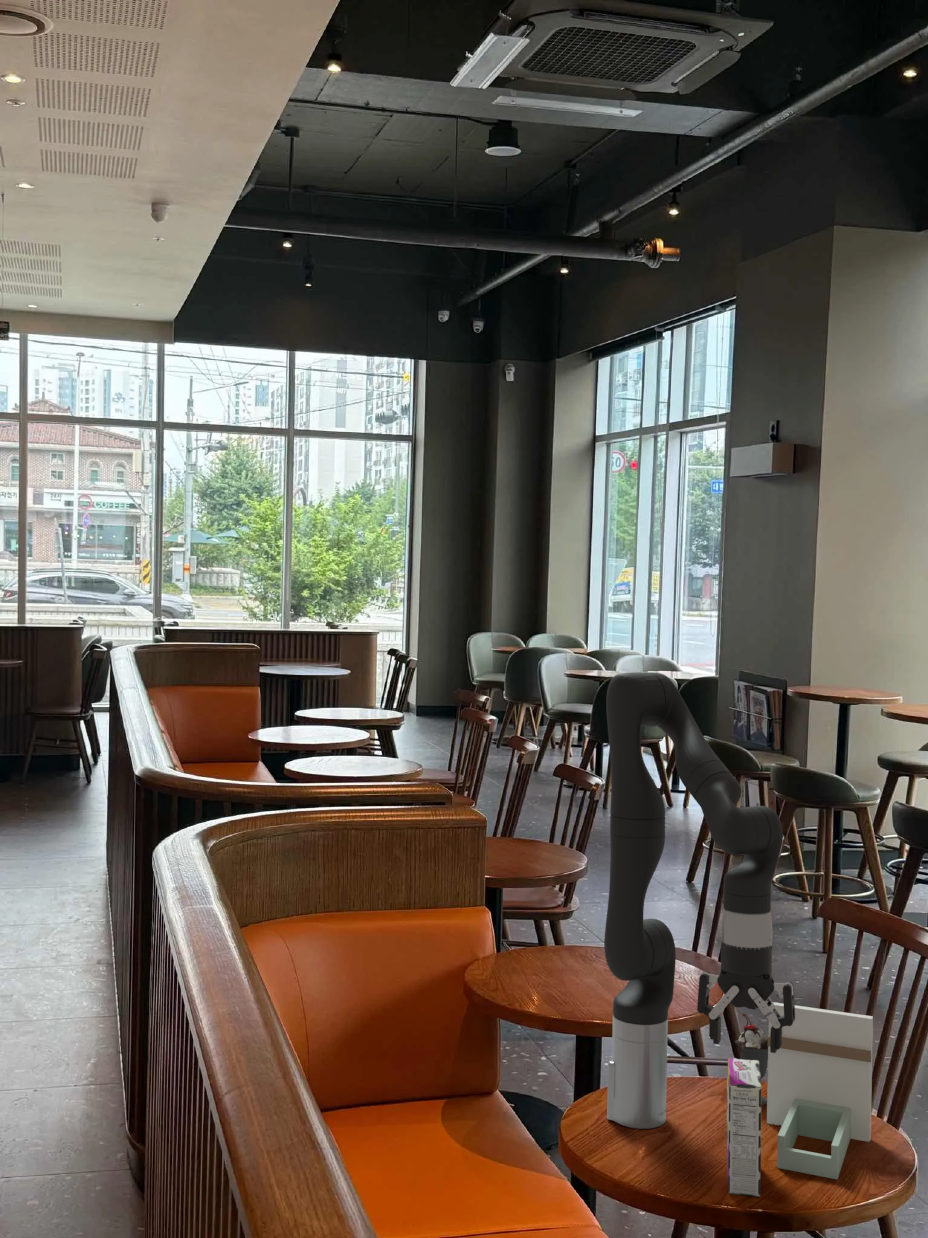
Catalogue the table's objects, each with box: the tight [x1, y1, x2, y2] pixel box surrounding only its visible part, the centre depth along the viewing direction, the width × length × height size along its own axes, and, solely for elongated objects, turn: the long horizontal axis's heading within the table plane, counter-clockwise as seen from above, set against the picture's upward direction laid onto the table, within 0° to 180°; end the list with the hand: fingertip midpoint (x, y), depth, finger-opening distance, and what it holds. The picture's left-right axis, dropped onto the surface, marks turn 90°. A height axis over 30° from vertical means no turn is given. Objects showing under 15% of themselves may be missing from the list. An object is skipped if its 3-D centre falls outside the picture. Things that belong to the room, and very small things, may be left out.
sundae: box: [734, 1013, 768, 1107], centre depth 215 cm, size 7×7×15 cm
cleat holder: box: [766, 1001, 874, 1181], centre depth 195 cm, size 16×18×20 cm
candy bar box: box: [726, 1057, 762, 1198], centre depth 184 cm, size 11×5×16 cm, turn 168°
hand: (745, 1047), depth 184 cm, fingers open, 8 cm apart
